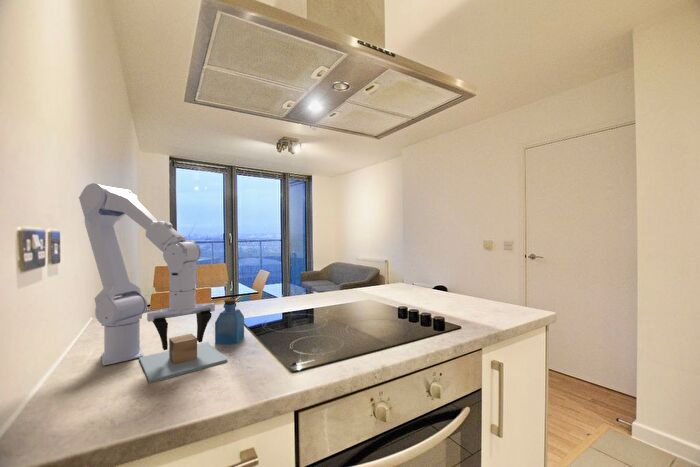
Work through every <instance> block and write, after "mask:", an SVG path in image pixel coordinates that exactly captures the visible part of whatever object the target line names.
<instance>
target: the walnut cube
mask: <svg viewBox="0 0 700 467" xmlns="http://www.w3.org/2000/svg"><path fill="white" fill-rule="evenodd" d="M168 340H169V341H168V351H169V359H170V360H171V361H172V362H173V364H174V365H175V364H179V363H182V362H186V361H190V360H194V359H197V344H198V341H197V336H195V335H194V334H193V333H188V334H184V335H183V334H182V335H179V336H172V337H169V338H168Z"/></svg>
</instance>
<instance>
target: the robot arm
mask: <svg viewBox="0 0 700 467" xmlns="http://www.w3.org/2000/svg"><path fill="white" fill-rule="evenodd" d="M80 193H81V194H80V195H79V197H78V199H79V203H80V206H81V209H82V213H83V216H84V225H85V229H86V233H87V236H88V238H89V243H90V246H91V247H90V248H91V250H92V253H93V258H94V261H95V265H96V268H97V271H98V274H99V278H100V281H101V285H102V290H101V291H99V293H98V294H97V295H96V296H95V297H94V303H95V311H94V314H95V317H96V318H95V319H97V322H98V323H100V324H101V327H104V330H103V332H104V335H103V338H104V340H103V342H104V346H103V347H104V349H103V351H104V352H101V362H102V366H109V365H113V364H117V363H122V362H126V361H131V360H135V359H139V357H144V353H143V351H142V349H141V347H140V345H141V344H140V343H141V342H140V340H141V338H140V336H141V335H140V334H141V333H140V321H141V319H143V316H142V315H143V314H145V313H146V314H147V316H146V318H147V319H146V321H148V322H152V323H153V325H154V327H155V328H156V331H157V333H158V335H159V337H160V342H161V346H162V349H163V350H164V351H168V350H169V342H168V329H169V328H168V325H169V323H168V321H167V319H170V318H177V317H184V316H188V315H189V316H190V315H195V314H196V315H195V316H196V328H197V329H196V338H197V343H203V341H204V340H203V338H204V335H205V331H206V329H207V326H208V324H209V322H210V320H211V318H212V313H211V312H215V310H216V309H215V308H216V304H215V303H214V302H209V303H208V302H207V303H206V302H205V303H197V285H196V284H197V280H196V279H197V271H196V270H197V268H196V267H197V265H196V264H197V262H198V261H199V259H200V257H201V255H202V251H201V248H200V246H199V245H198V243H197V241H194V240H187V239H186V236H184V235H182V234H180V233H179V232H178V231H177V230H176V229H175V228H174V227H173V224H172V223H171V222H169V221H164V220H158V219H157V218H156V217H155V216H154V215H153V214H152V213H151V212H150V211H149V210H148V209H147V208H146V207H145V206H144V205H143V204H142V203H141V202H140V201H139V199H138V198H139V197H138V195H136V194H134V193H133V192H132V191H131V190H130V189H128V188H119V187H114V186H108V185H103V184H99V183H96V182H95V183H88V184H87V185H86V186H85V187H84V188H83V190H82V192H80ZM125 215H126V216H127V217H129V218H130V219H131V220H132V221H134V222H135V223H136V224H138V225H139V226H140V227H142V229H144V230H145V237H146V238H147V239H148V240H149V241H150V242H151V243H152V244H153V245H154V246H155V247H157V248H158V250H160V251H161V252H162V258H163V260H164V261H165V263H166V265H167V271H168V272H169V274H168V275H169V280H168V281H169V286H168V287H169V288H168V289H169V292H168V293H169V294H168V295H169V297H168V298H169V301H168V302H169V307H166V308H161V309H157V310H153V311H152V310H151V311H147V308H148V301H147V300H148V299H146V297H145V295H144V294H143V293H142V291H141V288H140V287H139V285H136V284H135V283H133V282H131V280H130V278H129V275H128V272H127V269H126V265H125V261H124V258H123V255H122V252H121V248H120V245H119V240H118V237H117V234H116V231H115V227H114V225H115V224H116V222H119V221H120V220H122V219H123V217H125ZM146 311H147V312H146Z"/></svg>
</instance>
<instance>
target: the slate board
mask: <svg viewBox="0 0 700 467" xmlns="http://www.w3.org/2000/svg"><path fill="white" fill-rule="evenodd" d="M138 359H139V362H140V364H141V366H142V369H143V371H144V374H145V376H146V378H147V380H148V382H149V384H152V383H155V382H158V381H163V380H166V379H170V378H175V377H177V376H180V375H184V374H188V373H191V372H195V371H199V370H202V369H205V368H209V367H213V366H216V365H221V364H224V363H228V358H227V357H226V356H224V355H223V353H221V352H220V351H219V350H217V349H216V348H215V347H214V346H213V345H212V344H211V343H209V341H208V342H207V341H206V342H200V343H197V359H194V360H190V361H186V362H182V363H179V364H175V365H174V364H173V362H172V361H171V360H170V359H169V350H165V351H162V352H157V353H154V354H149V355H145V356H144V355H143V357H139V358H138Z"/></svg>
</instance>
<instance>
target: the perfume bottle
mask: <svg viewBox="0 0 700 467" xmlns="http://www.w3.org/2000/svg"><path fill="white" fill-rule="evenodd" d="M236 300H237V299H236V298H226V299H224V300H223V301H224V304H223V309H224V310H223V311H221V312H220V313H219V315H218V317H217V319H216V320H215V321H214V322H215V323H214V344H215V345H238V344H239V342H241V340H243V338H244V337H245V316H244V314H243V313H242V312H241V310H240V309H239V308H237V302H236Z"/></svg>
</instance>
